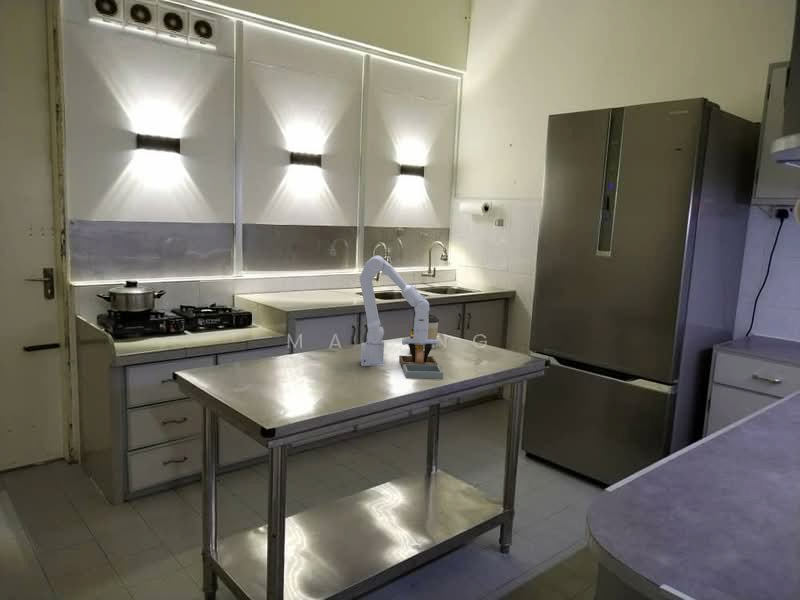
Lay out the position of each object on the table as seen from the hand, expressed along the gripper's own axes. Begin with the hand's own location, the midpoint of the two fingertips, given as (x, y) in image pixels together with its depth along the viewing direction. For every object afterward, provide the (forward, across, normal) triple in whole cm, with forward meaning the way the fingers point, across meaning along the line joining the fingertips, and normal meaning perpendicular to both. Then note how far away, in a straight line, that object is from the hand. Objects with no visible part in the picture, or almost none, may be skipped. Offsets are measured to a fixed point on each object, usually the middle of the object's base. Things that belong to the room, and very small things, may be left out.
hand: (419, 362), depth 235 cm
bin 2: (+2, 0, -13) cm, 13 cm away
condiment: (+2, +2, +20) cm, 20 cm away
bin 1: (+2, 0, 0) cm, 2 cm away
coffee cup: (+2, +9, +35) cm, 36 cm away
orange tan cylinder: (+1, 0, 0) cm, 1 cm away
